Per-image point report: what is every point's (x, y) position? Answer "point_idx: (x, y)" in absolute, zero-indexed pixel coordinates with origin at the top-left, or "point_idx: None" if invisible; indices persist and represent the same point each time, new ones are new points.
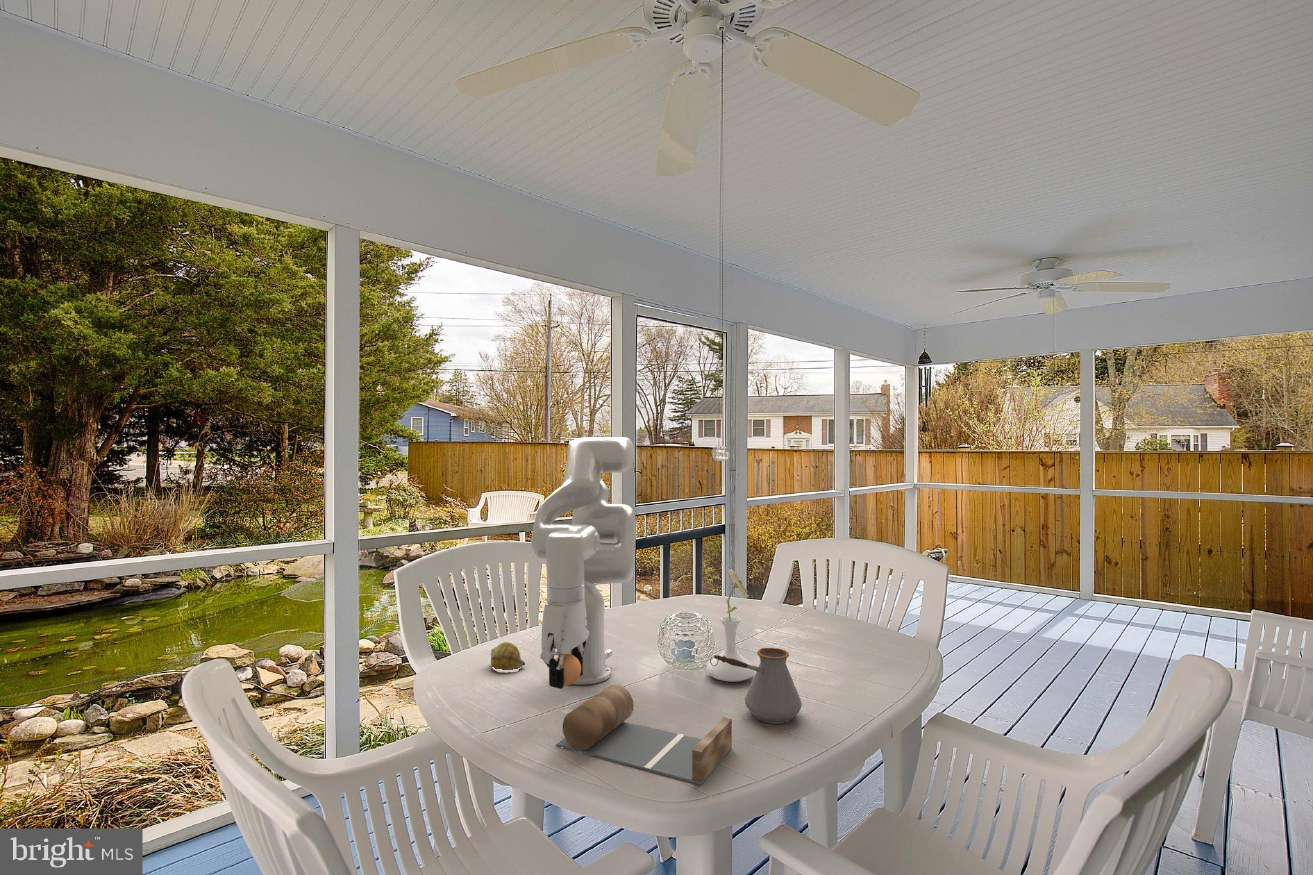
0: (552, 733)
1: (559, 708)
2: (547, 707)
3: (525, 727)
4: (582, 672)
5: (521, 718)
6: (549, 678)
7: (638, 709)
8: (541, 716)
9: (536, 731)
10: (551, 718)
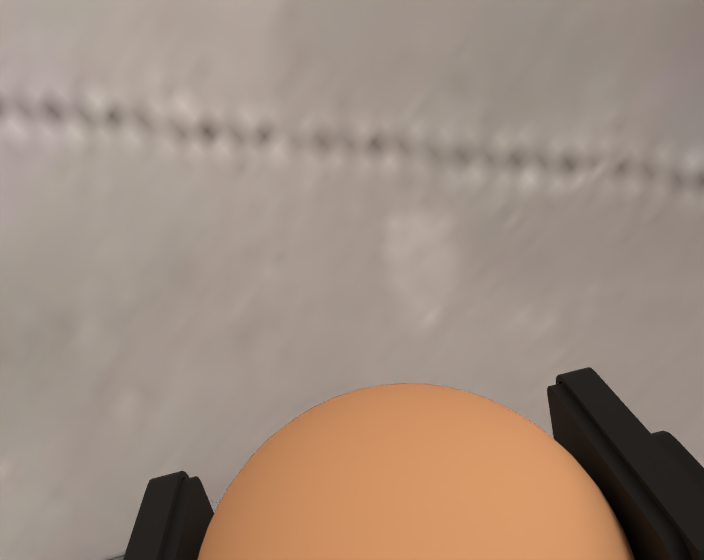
0: (116, 446)
1: (412, 167)
2: (362, 76)
3: (13, 248)
4: None
5: (74, 87)
6: (133, 542)
7: None
8: (220, 181)
9: (45, 355)
10: (254, 264)
